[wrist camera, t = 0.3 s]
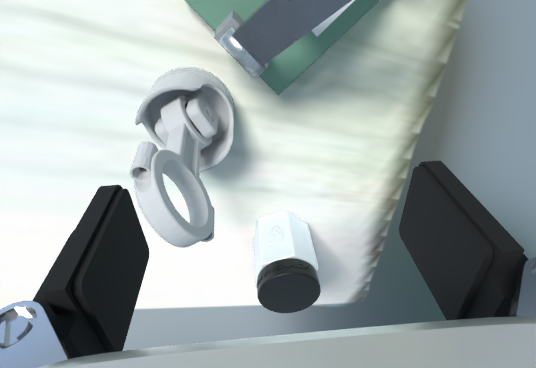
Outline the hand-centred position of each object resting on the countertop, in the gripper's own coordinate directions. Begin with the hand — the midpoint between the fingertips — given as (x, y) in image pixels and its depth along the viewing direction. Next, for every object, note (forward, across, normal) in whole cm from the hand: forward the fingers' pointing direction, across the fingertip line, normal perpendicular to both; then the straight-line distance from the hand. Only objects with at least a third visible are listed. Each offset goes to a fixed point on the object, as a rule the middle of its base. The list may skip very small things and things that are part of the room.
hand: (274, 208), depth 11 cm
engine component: (+30, +7, +9) cm, 33 cm away
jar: (+30, -3, +30) cm, 42 cm away
